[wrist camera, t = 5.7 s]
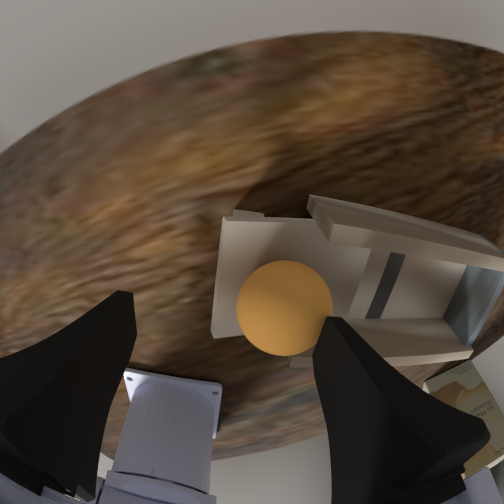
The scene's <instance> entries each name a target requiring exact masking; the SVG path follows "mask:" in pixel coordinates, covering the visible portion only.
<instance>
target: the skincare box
mask: <svg viewBox="0 0 504 504" xmlns="http://www.w3.org/2000/svg"><path fill="white" fill-rule="evenodd" d="M422 390H424V391H425V392H427V393H429V394H430V395H432V396H433V397H435V398H437V399H439V400H440V401H442V402H444V403H446V404H448V405H450V406H452V407H454V408H456V409H458V410H461V411H463V412H466V413H468V414H471V415H474V416H476V417H479V418H482V419H483V421H484V422H485V424H486V426H487V428H488V430H489V432H490V434H491V438H490V440H489V442H488V443H487V444H486V445H485V446H484V447H483V448H482V449H481V450H480V451H479V452H478V453H476V454H475V455H474V456H473V457H472V458H470V459H469V460H468V461H467V462H465V463H464V464H463V465H464V467H465V472H464V473H463V474H461V475H462V478H463V480H464V479H465V478H467V477H468V476H470V475H472V474H474V473H476V472H477V471H479V470H481V469H483V468H484V467H489V469H490V468H491V467H493V466H494V465H496V464H497V463H499V462H500V461H501V460H503V459H504V416H503V414H502V412H501V410H500V408H499V407H498V405H497V403H496V401H495V399H494V398H493V396H492V394H491V393H490V391H489V389H488V387H487V386H486V384H485V382H484V381H483V379H482V378H481V376H480V375H479V373H478V371H477V369H476V368H475V366H474V365H473V363H472V362H471V360H468V361H466V362H464V363H462V364H460V365H458V366H456V367H454V368H452V369H450V370H448V371H446V372H444V373H442V374H440V375H438V376H436V377H433V378H431V379H429V380H427V381H425V382H424V385H423V389H422Z"/></svg>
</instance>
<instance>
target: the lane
mask: <svg viewBox="0 0 504 504" xmlns="http://www.w3.org/2000/svg"><path fill="white" fill-rule="evenodd" d="M306 209H307V210H308V212H309V213H310V215H311V216H312V218H313V219H305V218H280V217H264V213H259V212H252V211H245V210H237V209H233V216H223V220H222V228H221V237H220V245H219V254H218V263H217V272H216V281H215V291H214V300H213V311H212V321H211V333H212V336H213V339H215V338H224V337H232V336H240V335H244V333H243V332H242V330H241V328H240V325H239V322H238V318H237V311H236V307H237V298H238V295H239V292H240V289H241V287H242V285H243V284H244V282H245V281H246V279H247V278H248V277H249V276H250V275H251V274H252V273H253V272H254V271H255V270H257V269H258V268H260V267H261V266H263V265H265V264H268V263H271V262H274V261H281V260H289V261H295V262H299V263H302V264H305V265H307V266H308V267H310V268H312V269H313V270H315V271H316V272H317V273H318V274H319V275H320V276H321V277H322V279H323V280H324V281H325V283H326V284H327V286H328V288H329V291H330V294H331V297H332V306H333V311H332V316H333V317H342V318H343V319H344V320H345V321H346V322H347V323H348V324H349V325H350V326H351V327H352V328H353V329H354V330H355V331H356V332H357V333H358V334H359V335H360V336H361V337H362V338H363V339H364V340H365V341H366V342H367V343H368V344H369V345H370V346H371V347H372V348H373V349H374V350H375V351H376V352H377V353H378V354H379V355H380V356H381V357H382V358H383V359H384V360H386V361H387V362H388V363H389V364H390V365H391V366H407V365H419V364H429V363H438V362H447V361H454V360H462V359H468V358H469V357H470V355H471V354H472V352H473V351H474V350H473V348H472V347H471V345H472V343H473V341H474V340H475V338H476V337H477V335H478V333H479V332H480V330H481V328H482V326H483V325H484V323H485V321H486V319H487V318H488V316H489V314H490V312H491V310H492V308H493V306H494V304H495V302H496V300H497V298H498V296H499V294H500V292H501V290H502V288H503V286H504V251H503V250H502V249H501V248H499V247H498V246H496V245H495V244H493V243H492V242H491V241H489V240H488V239H486V238H485V237H483V236H482V235H480V234H476V233H473V232H470V231H466V230H463V229H459V228H456V227H452V226H449V225H445V224H441V223H438V222H434V221H430V220H426V219H422V218H418V217H414V216H410V215H406V214H402V213H398V212H393V211H389V210H385V209H380V208H376V207H371V206H367V205H362V204H357V203H352V202H347V201H342V200H337V199H332V198H327V197H321V196H316V195H309V199H308V204H307V208H306ZM315 346H316V344H315V345H314V346H313V347H311V348H310V349H308V350H306V351H304V352H302V353H299V354H295V355H290V356H288V361H289V367H299V368H313V359H312V353H313V351H314V348H315Z"/></svg>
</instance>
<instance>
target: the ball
mask: <svg viewBox="0 0 504 504" xmlns="http://www.w3.org/2000/svg"><path fill="white" fill-rule="evenodd" d="M236 311H237V318H238V322H239V325H240V328H241V330H242V332H243V333H244V335H245V336H246V338H247V339H248V340H249V341H250V342H251V343H252V344H253V345H254V346H256V347H257V348H258V349H260V350H262V351H264V352H266V353H269V354H273V355H279V356H290V355H295V354H299V353H302V352H304V351H306V350H308V349H310V348H311V347H313V346H314V345H315V344H316V343H317V340H318V338H319V335H320V333H321V330H322V327H323V325H324V322H325V319H326V317H327V316H332V311H333V306H332V297H331V294H330V291H329V288H328V286H327V284H326V283H325V281H324V280H323V279H322V277H321V276H320V275H319V274H318V273H317V272H316V271H315V270H313V269H312V268H310V267H308V266H307V265H305V264H302V263H299V262H295V261H289V260H281V261H274V262H271V263H268V264H265V265H263V266H261V267H260V268H258V269H257V270H255V271H254V272H253V273H252V274H251V275H250V276H249V277H248V278H247V279H246V281H245V282H244V284H243V285H242V287H241V289H240V292H239V295H238V298H237V307H236Z"/></svg>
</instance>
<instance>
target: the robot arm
mask: <svg viewBox="0 0 504 504" xmlns="http://www.w3.org/2000/svg"><path fill="white" fill-rule="evenodd" d="M136 336H137V330H136V321H135V311H134V300H133V293H131V292H125V291H119V290H118V291H116V292H115V293H113V294H112V295H110V296H109V297H108V298H106V299H105V300H104V301H102V302H101V303H99V304H98V305H97V306H95V307H94V308H93V309H91V310H90V311H88V312H87V313H86V314H84V315H83V316H81V317H80V318H78V319H77V320H75V321H74V322H72V323H71V324H69V325H68V326H66V327H65V328H63V329H62V330H60V331H58V332H57V333H55V334H53V335H52V336H50V337H48V338H46V339H44V340H42V341H41V342H39V343H37V344H35V345H32V346H30V347H28V348H25V349H23V350H21V351H19V352H16V353H14V354H11V355H8V356H6V357H3V358H0V504H216V496H213V495H209V489H210V472H211V456H212V440H213V439H214V438H215V437H216V431H217V424H218V417H219V410H220V403H221V396H222V385H221V384H220V383H217V382H208V381H200V380H193V379H186V378H180V377H173V376H167V375H162V374H156V373H151V372H146V371H141V370H136V369H131V368H126V367H127V364H128V362H129V360H130V357H131V354H132V351H133V347H134V344H135V340H136ZM312 359H313V369H314V377H315V381H316V385H317V389H318V393H319V397H320V401H321V405H322V409H323V413H324V417H325V421H326V425H327V431H328V438H329V447H330V457H331V471H332V473H331V474H332V502H331V504H503V503H502V500H501V498H500V495H499V492H498V489H497V487H496V484H495V482H494V479H493V478H492V475H491V472H490V470H489V467H484V468H483V469H481V470H479V471H477V472H476V473H474V474H472V475H470V476H468V477H467V478H465V479H464V480H463V478H462V475H461V474H463V473H464V472H465V467H464V465H463V464H464V463H465V462H467V461H468V460H469V459H470V458H472V457H473V456H474V455H475V454H476V453H478V452H479V451H480V450H481V449H482V448H483V447H484V446H485V445H486V444H487V443H488V442H489V440H490V438H491V434H490V432H489V430H488V428H487V426H486V424H485V422H484V421H483V419H482V418H479V417H476V416H474V415H471V414H468V413H466V412H463V411H461V410H458V409H456V408H454V407H452V406H450V405H448V404H446V403H444V402H442V401H440V400H439V399H437V398H435V397H433V396H432V395H430V394H429V393H427V392H425V391H424V390H422V389H421V388H419V387H418V386H416V385H415V384H414V383H412V382H411V381H410V380H408V379H407V378H406V377H404V376H403V375H402V374H400V373H399V372H398V371H397V370H396V369H395V368H393V367H392V366H391V365H390V364H389V363H388V362H387V361H386V360H384V359H383V358H382V357H381V356H380V355H379V354H378V353H377V352H376V351H375V350H374V349H373V348H372V347H371V346H370V345H369V344H368V343H367V342H366V341H365V340H364V339H363V338H362V337H361V336H360V335H359V334H358V333H357V332H356V331H355V330H354V329H353V328H352V327H351V326H350V325H349V324H348V323H347V322H346V321H345V320H344V319H343V318H342V317H333V316H327V317H326V319H325V322H324V325H323V327H322V330H321V333H320V335H319V338H318V340H317V343H316V346H315V348H314V351H313V353H312ZM123 375H124V379H125V383H126V387H127V391H128V394H129V398H130V402H131V403H130V406H129V409H128V413H127V416H126V419H125V423H124V426H123V430H122V433H121V437H120V440H119V444H118V447H117V451H116V455H115V459H114V463H113V466H112V470H108V471H107V475H106V479H104V478H101V477H97V470H98V462H99V455H100V449H101V444H102V439H103V434H104V429H105V425H106V421H107V417H108V413H109V409H110V406H111V404H112V401H113V398H114V396H115V393H116V391H117V388H118V386H119V384H120V381H121V379H122V376H123ZM65 494H66V495H68V496H71V497H73V498H77V499H79V500H80V501H78V500H76V499H73V498H71V497H68V496H66V495H65Z"/></svg>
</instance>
